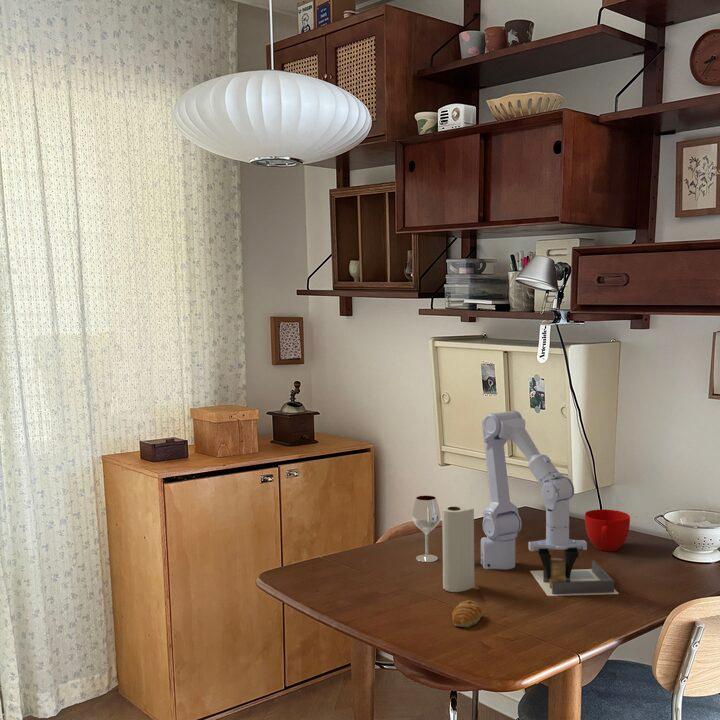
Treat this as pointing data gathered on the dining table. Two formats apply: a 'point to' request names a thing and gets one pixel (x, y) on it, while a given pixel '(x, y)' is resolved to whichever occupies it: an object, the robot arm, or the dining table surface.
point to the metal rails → (584, 583)
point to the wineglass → (426, 521)
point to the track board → (574, 576)
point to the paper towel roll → (458, 548)
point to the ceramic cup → (607, 528)
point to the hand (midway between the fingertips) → (557, 577)
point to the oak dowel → (557, 570)
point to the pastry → (466, 614)
